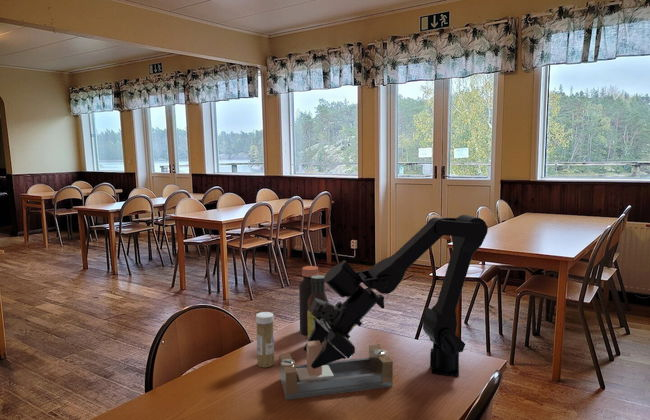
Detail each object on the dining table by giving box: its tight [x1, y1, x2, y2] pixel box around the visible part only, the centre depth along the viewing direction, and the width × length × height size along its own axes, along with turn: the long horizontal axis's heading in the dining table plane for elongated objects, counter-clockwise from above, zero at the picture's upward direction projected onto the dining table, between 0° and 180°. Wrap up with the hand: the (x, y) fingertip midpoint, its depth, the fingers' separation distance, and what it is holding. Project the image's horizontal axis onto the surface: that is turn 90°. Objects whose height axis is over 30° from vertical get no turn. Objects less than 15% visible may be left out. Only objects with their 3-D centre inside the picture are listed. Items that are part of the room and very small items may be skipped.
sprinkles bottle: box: [255, 311, 275, 368], centre depth 124 cm, size 5×5×13 cm
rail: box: [279, 344, 394, 401], centre depth 114 cm, size 26×10×7 cm, turn 103°
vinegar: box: [298, 265, 319, 337], centre depth 145 cm, size 7×7×20 cm
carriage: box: [296, 340, 334, 382], centre depth 112 cm, size 8×6×9 cm
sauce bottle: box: [307, 275, 330, 349], centre depth 135 cm, size 7×6×20 cm
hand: (308, 358), depth 112 cm, fingers open, 9 cm apart
